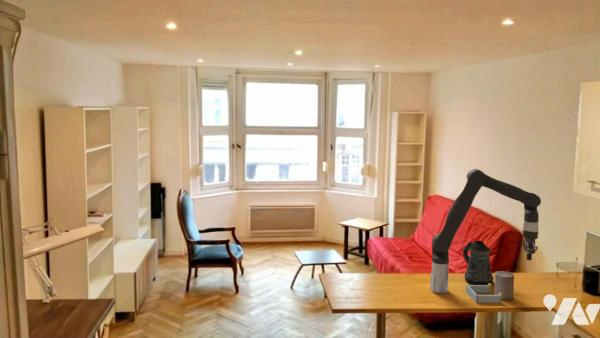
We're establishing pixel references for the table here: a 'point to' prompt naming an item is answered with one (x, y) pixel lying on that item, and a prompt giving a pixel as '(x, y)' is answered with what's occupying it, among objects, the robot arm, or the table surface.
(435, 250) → the robot arm
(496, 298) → the tray
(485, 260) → the beer stein
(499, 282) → the pillar candle
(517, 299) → the table surface
